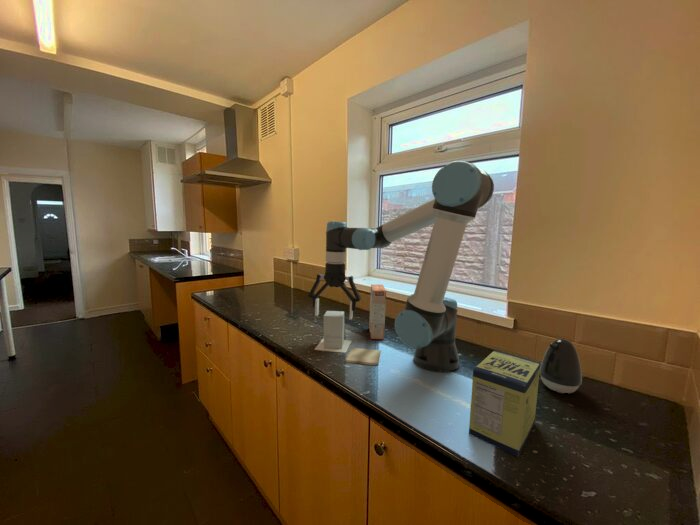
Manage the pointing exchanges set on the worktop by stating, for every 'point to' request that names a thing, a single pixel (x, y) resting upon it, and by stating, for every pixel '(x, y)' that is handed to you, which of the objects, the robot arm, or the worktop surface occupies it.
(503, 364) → the protein box
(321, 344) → the tile
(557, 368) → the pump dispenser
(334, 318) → the supplement box
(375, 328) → the cracker box
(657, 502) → the worktop surface
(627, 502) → the worktop surface
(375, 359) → the oak coaster
